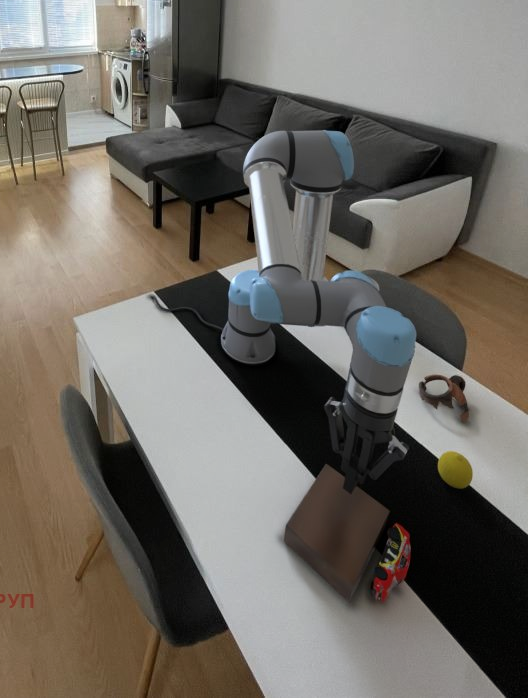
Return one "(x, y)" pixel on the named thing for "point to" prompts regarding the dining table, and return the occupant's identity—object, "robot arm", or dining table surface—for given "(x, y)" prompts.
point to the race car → (392, 563)
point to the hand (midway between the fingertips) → (350, 485)
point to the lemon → (455, 469)
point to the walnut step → (336, 530)
